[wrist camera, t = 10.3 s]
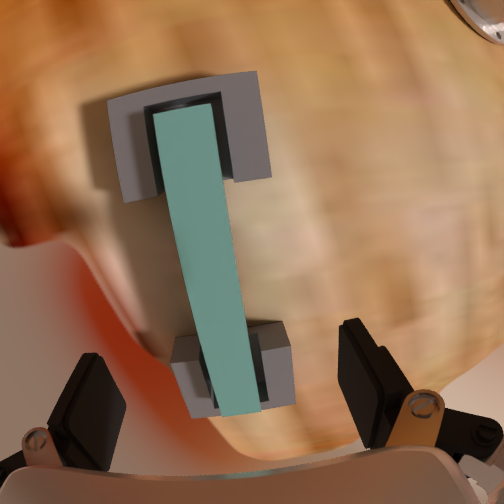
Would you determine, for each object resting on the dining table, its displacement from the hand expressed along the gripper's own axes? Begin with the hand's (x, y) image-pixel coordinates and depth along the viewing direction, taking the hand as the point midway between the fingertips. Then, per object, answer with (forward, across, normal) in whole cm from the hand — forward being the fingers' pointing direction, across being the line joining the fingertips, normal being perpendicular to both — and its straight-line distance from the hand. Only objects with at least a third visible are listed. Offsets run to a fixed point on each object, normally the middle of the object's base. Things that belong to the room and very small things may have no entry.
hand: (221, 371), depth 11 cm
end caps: (+13, +1, +1) cm, 13 cm away
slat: (+12, +1, +1) cm, 12 cm away
